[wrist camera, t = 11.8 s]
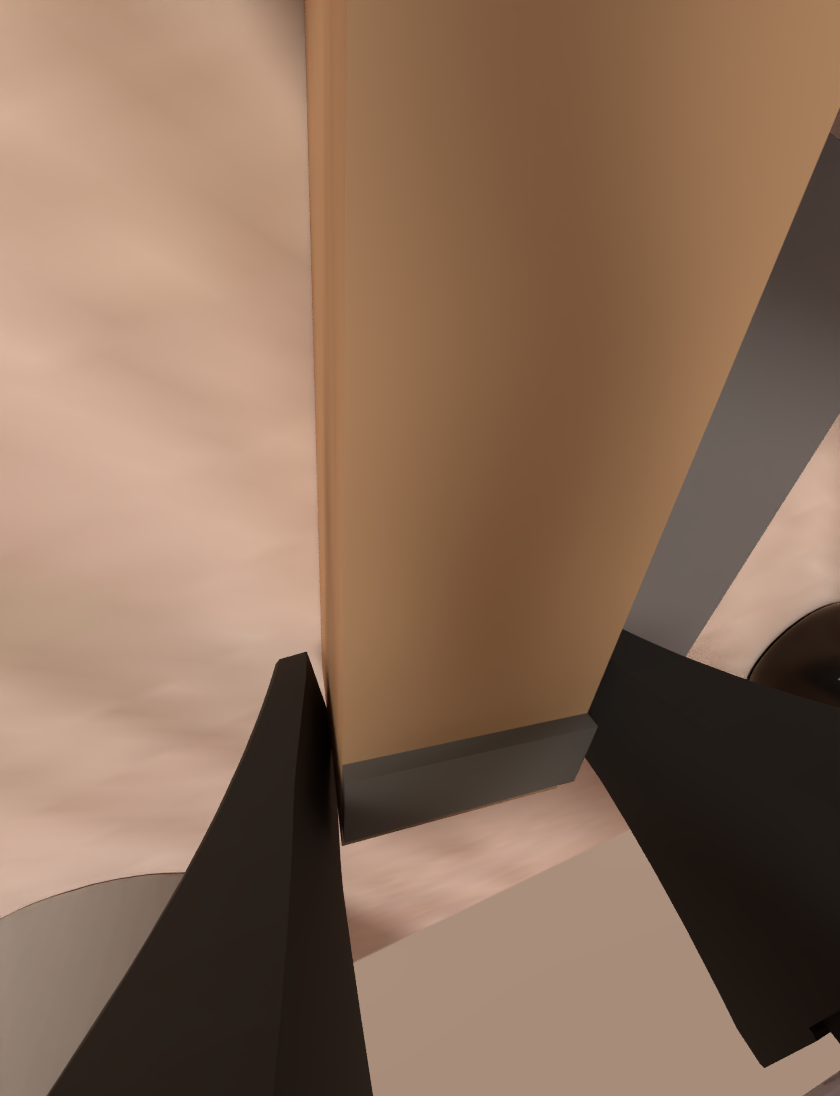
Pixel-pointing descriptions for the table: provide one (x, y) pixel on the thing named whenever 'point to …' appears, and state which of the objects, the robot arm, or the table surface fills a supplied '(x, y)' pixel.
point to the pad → (755, 426)
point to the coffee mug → (67, 971)
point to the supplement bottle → (806, 659)
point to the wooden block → (524, 349)
